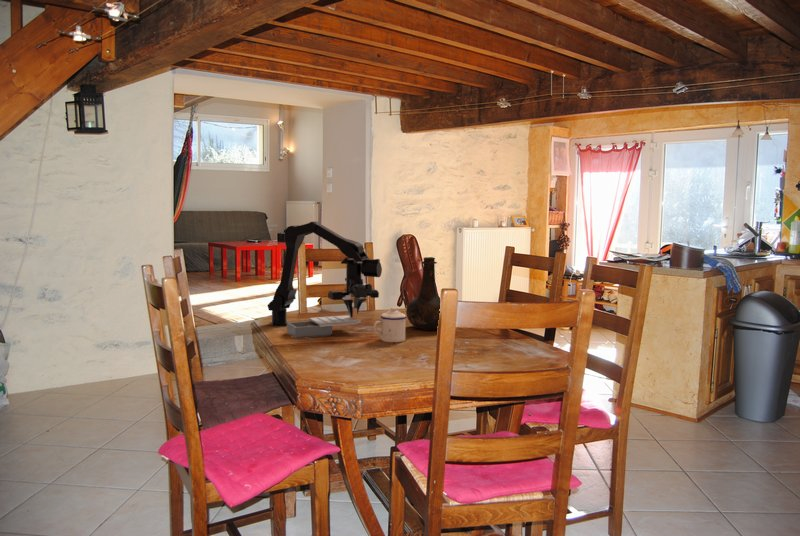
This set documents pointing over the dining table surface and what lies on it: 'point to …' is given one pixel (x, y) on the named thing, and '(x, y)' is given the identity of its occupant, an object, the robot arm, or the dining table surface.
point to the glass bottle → (425, 300)
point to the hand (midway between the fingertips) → (353, 316)
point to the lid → (337, 319)
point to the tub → (307, 329)
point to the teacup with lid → (392, 326)
